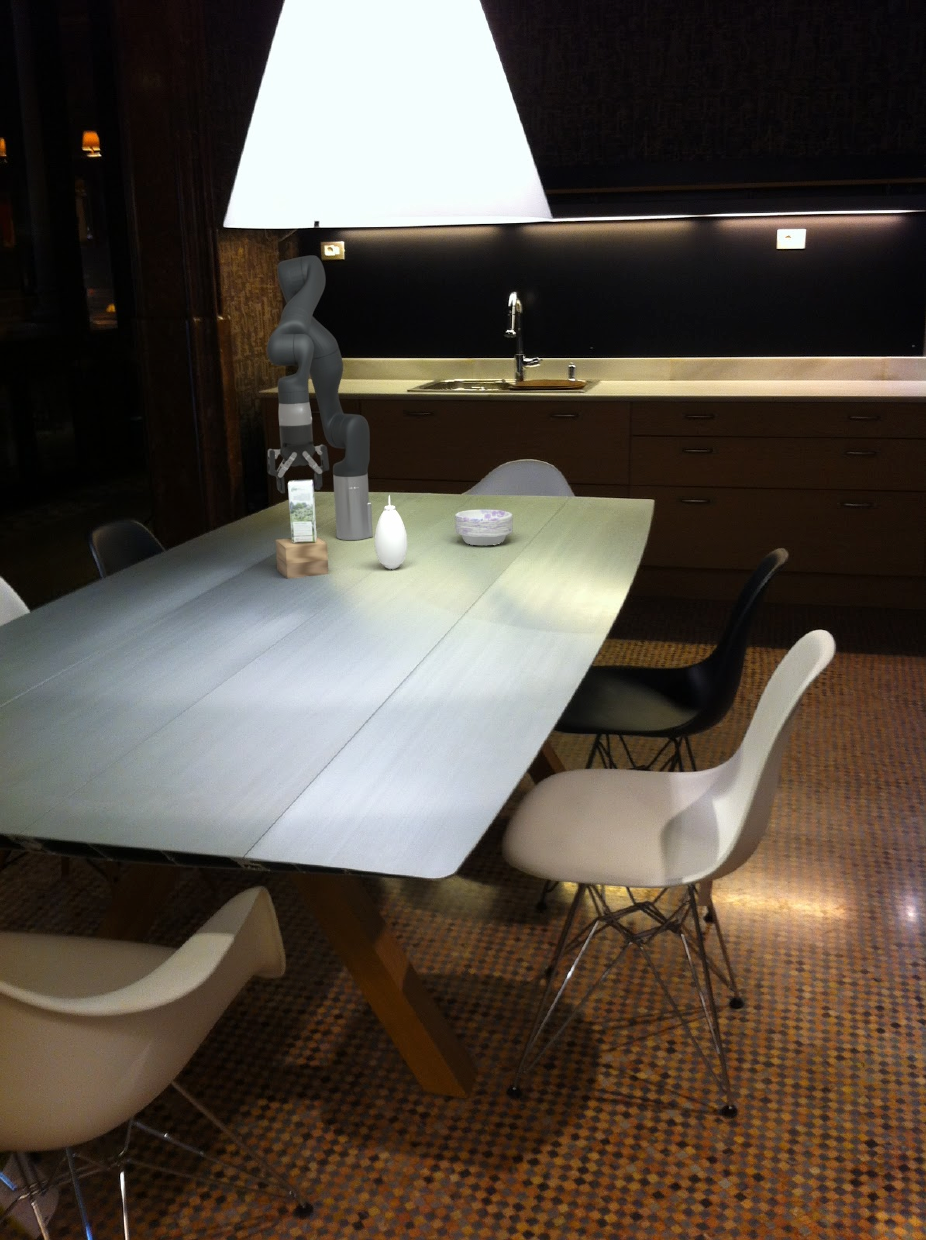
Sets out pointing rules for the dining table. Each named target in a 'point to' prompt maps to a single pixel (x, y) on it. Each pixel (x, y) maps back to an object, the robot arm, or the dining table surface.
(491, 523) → the paper bowls
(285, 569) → the tower base block
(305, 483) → the syrup box
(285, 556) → the tower top block
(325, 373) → the robot arm
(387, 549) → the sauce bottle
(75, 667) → the dining table surface
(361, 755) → the dining table surface
